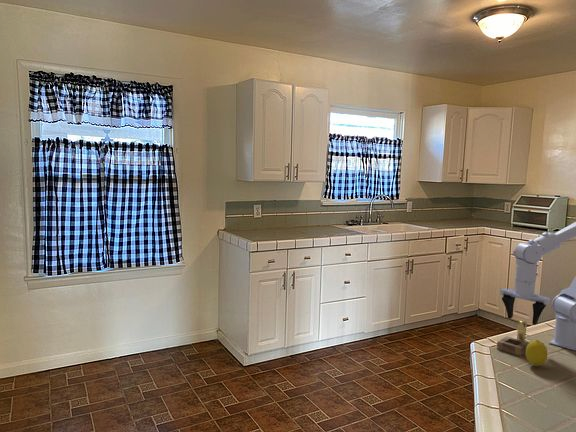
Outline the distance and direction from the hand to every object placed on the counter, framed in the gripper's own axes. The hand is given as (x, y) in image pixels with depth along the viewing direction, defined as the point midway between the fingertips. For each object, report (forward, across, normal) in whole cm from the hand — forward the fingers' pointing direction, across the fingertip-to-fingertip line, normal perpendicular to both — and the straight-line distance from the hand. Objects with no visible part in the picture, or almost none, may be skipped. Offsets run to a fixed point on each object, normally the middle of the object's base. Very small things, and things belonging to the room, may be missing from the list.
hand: (522, 320), depth 144 cm
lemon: (+8, +10, -14) cm, 19 cm away
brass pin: (+8, 0, 0) cm, 8 cm away
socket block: (+8, 0, -6) cm, 10 cm away
